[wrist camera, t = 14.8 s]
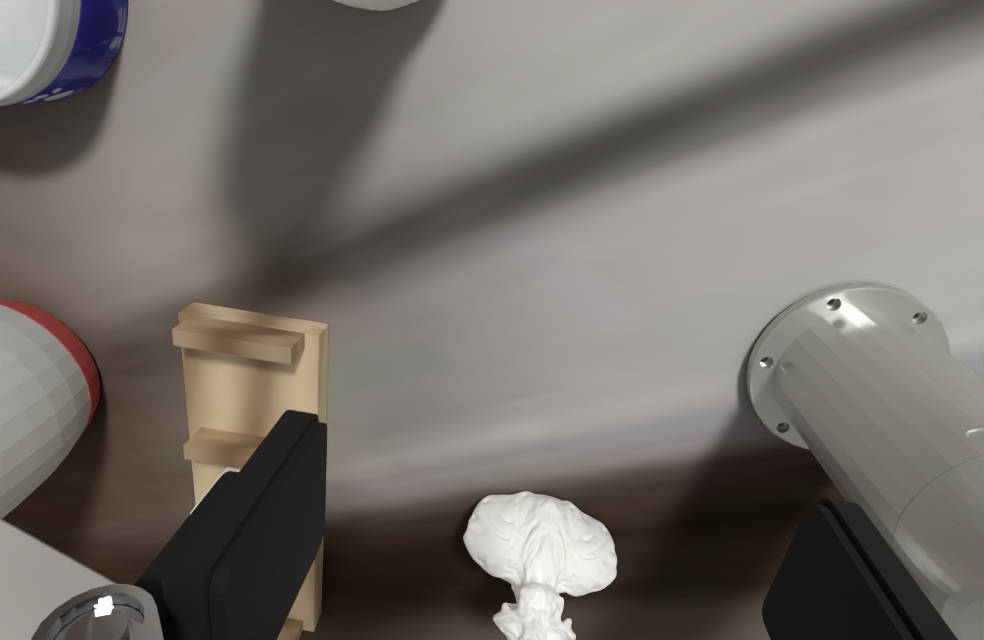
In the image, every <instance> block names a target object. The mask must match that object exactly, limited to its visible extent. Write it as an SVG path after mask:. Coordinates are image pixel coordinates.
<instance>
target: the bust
mask: <svg viewBox="0 0 984 640" xmlns="http://www.w3.org/2000/svg"><path fill="white" fill-rule="evenodd" d="M463 540H464V543H465V545H466V548H467V550H468V552H469V554H470V555H471V557H472V558H473V559H474V560H475V561H476V562H477V563H478V564H479V565H480V566H481V567H482V568H483V569H484V570H485V571H486V572H487V573H489V574H490V575H492V576H494V577H498V578H502V579H503V580H505V581H507V582H509V583H510V584H512V586H511V588H512V590H513V592H514V593H515V597H516V601H517V603H516V604H510V603H503V604H502V609H501V611H500V612H499V613H497V614H495V615H494V616H493V620H494V622H495V624H496V625H497V626H498V627H499V629H500V630H501V631H502V632H503V633H504V634H505V635H506V637H507V639H508V640H575V639H576V635H575V633H574V632H573V631H572V629H571V624H572V621H571V619H569V618H568V619H566V620H565V621H563V622H562V621H561V614H562V611H563V606H564V599H563V598H562V597H561V596H559V593H564V592H566V593H568V594H570V595H572V596H581V595H585V594H587V593H590V592H595V591H599V590H602V589H604V588H605V587H607V586H608V585H609V584H610V583H611V582H612V581H613V580H614V579H615V577H616V575H617V570H616V565H617V557H616V554H615V550H614V542H613V539H612V537H611V535H610V534H609V532H608V530H607V529H606V527H605V526H604V525H603V524H602V523H601V522H599V521H597V520H596V519H594V518H592V517H590V516H588V515H586V514H584V513H582V512H581V511H580V510H579V509H578V508H577V507H576V506H575V505H573V504H572V503H571V502H569V501H562V500H559V499H557V498H555V497H551V496H547V495H542V494H533V493H531V492H529V491H523V492H519V493H516V494H512V495H489V496H486V497H485V498H483V499H482V500H481V501H480V502H479V503H478V505H477V506H476V508H475V510H474V512H473V514H472V516H471V518H470V519H469V521H468V527H467V530H466V532H465V534H464V536H463Z"/></svg>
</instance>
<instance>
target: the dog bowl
mask: <svg viewBox="0 0 984 640" xmlns="http://www.w3.org/2000/svg"><path fill="white" fill-rule="evenodd" d="M127 16H128V0H0V106H10V105H20V104H30V103H38V102H47V101H53V100H59V99H65V98H68V97H71V96H73V95H76V94H78V93H80V92H82V91H84V90H86V89H88V88H89V87H91V86H92V85H93V84H95V83H96V82H97V81H98V80H99V79H100V78H101V77H102V76H103V75H104V74H105V73H106V71H107V70H108V69H109V67H110V66H111V65H112V63H113V61H114V59H115V57H116V56H117V53H118V51H119V49H120V46H121V43H122V40H123V37H124V33H125V28H126V23H127Z"/></svg>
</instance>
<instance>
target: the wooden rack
mask: <svg viewBox="0 0 984 640" xmlns="http://www.w3.org/2000/svg"><path fill="white" fill-rule="evenodd" d="M178 316H179V325H177V326H176V327H174V328H173V329H172V335H173V345H174V346H180V347H181V349H182V360H183V371H184V382H185V393H186V404H187V414H188V425H189V436H190V439H189V440H188V441H187V442H186V443H185V444H184V445H183V448H184V459H187V460H192V469H193V480H194V491H195V502H196V505H197V504H198V502H199V501H200V500H201V499H202V497H203V496H204V495H205V494H206V492H207V491H208V490H209V489H210V487H211V486H212V485H213V484H214V482H215V481H216V480H217V479H218V477H219V476H220V475H221V474H222V472H223V471H224V470H225V469H226V467H227V466H229V467H235V468H241V469H242V467H243V466H244V465H245V464H246V462H247V461H248V460H249V458H250V457H251V456H252V454H253V453H254V452H255V450H256V449H257V448H258V446H259V445H260V444H261V442H262V441H263V440H264V438H265V437H266V436H267V435H268V433H269V432H270V431H271V429H272V428H273V427H274V425H275V424H276V423H277V421H278V420H279V419H280V417H281V416H282V415H283V413H284V412H285V411H286V410H295V411H301V412H308V413H314V414H317V415H318V418H319V422H322V423H326V414H327V374H328V334H329V324H325V323H319V322H313V321H307V320H301V319H294V318H288V317H282V316H276V315H270V314H263V313H257V312H251V311H245V310H239V309H233V308H226V307H220V306H214V305H208V304H202V303H195V302H194V303H192V304H191V305H189V306H188V307H186V308H185V309H183V310H182V311H180V312H179V313H178ZM322 572H323V540H322V543H321V546H320V548H319V551H318V553H317V555H316V557H315V559H314V561H313V563H312V566H311V568H310V570H309V572H308V574H307V576H306V578H305V580H304V583H303V585H302V587H301V589H300V591H299V593H298V595H297V598H296V600H295V602H294V604H293V606H292V608H291V610H290V612H289V615H288V617H287V619H286V621H285V623H284V625H283V627H282V630H281V632H280V634H279V636H278V638H277V640H299V638H300V635H301V633H302V631H303V630H306V631H312V632H314V630H315V627H316V625H317V622H318V620H319V618H320V615H321V612H322Z"/></svg>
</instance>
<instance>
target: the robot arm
mask: <svg viewBox="0 0 984 640" xmlns="http://www.w3.org/2000/svg"><path fill="white" fill-rule="evenodd" d="M829 300H830V302H828V301H829ZM763 358H764V359H763ZM746 380H747V391H748V395H749V399H750V402H751V404H752V406H753V408H754V410H755V411H756V413H757V415H758V416H759V418H760V419H761V421H762V422H763V423H764V425H765V426H766V427H767V428H768V429H769V430H770V431H771V432H772V433H773V434H774V435H776V436H777V437H779V438H781V439H782V440H784V441H786V442H788V443H789V444H792V445H795V446H798V447H801V448H804V449H808V450H811V452H812V453H813V455H814V456H815V458H816V459H817V460H818V462H819V463H820V465H821V466H822V467H823V469H824V470H825V472H826V473H827V475H828V476H829V477H830V479H831V480H832V482H833V483H834V484H835V486H836V487H837V489H838V490H839V492H840V493H841V494H842V496H843V497H844V499H845V500H846V501H842V500H836V499H830V498H821V499H820V500H819V501H818V502H817V503H816V504H811V505H809V506H808V508H807V510H806V512H805V514H804V516H803V518H802V520H801V522H800V525H799V527H798V529H797V531H796V533H795V535H794V538H793V540H792V542H791V544H790V546H789V548H788V550H787V553H786V555H785V557H784V559H783V561H782V563H781V566H780V568H779V570H778V572H777V574H776V576H775V578H774V581H773V583H772V585H771V587H770V589H769V591H768V593H767V596H766V598H765V600H764V603H763V608H762V615H763V621H764V624H765V627H766V629H767V632H768V634H769V637H770V639H771V640H958V639H959V640H984V377H982V376H981V375H980V374H978V373H977V372H975V371H974V370H972V369H971V368H969V367H968V366H967V365H965V364H964V363H962V362H961V361H959V360H958V359H957V358H955V357H954V356H952V355H951V354H950V350H949V342H948V337H947V335H946V332H945V330H944V327H943V325H942V323H941V322H940V321H939V319H938V318H937V316H936V315H935V314H934V312H933V311H932V310H930V309H929V308H928V307H927V306H925V305H924V304H923V303H922V302H920V301H919V300H917V299H916V298H914V297H912V296H910V295H909V294H907V293H905V292H903V291H900V290H897V289H895V288H892V287H889V286H884V285H877V284H871V283H859V284H846V285H840V286H835V287H830V288H827V289H824V290H821V291H819V292H816V293H813V294H811V295H809V296H807V297H805V298H803V299H801V300H799V301H797V302H796V303H794V304H792V305H791V306H790V307H788V308H787V309H786V310H785V311H783V312H782V313H781V314H779V315H778V316H777V317H776V318H775V319H774V320H773V321H772V322H771V323H770V324H769V325H768V327H767V328H766V329H765V330H764V332H763V333H762V335H761V336H760V338H759V339H758V341H757V342H756V344H755V346H754V349H753V351H752V353H751V356H750V358H749V363H748V368H747V373H746ZM326 459H327V424H326V423H322V422H319V418H318V415H317V414H314V413H308V412H301V411H295V410H286V411H285V412H284V413H283V415H282V416H281V417H280V419H279V420H278V421H277V423H276V424H275V425H274V427H273V428H272V429H271V431H270V432H269V433H268V435H267V436H266V437H265V438H264V440H263V441H262V442H261V444H260V445H259V446H258V448H257V449H256V450H255V452H254V453H253V454H252V456H251V457H250V458H249V460H248V461H247V462H246V464H245V465H244V466H243V467H242V469H241V470H240V471H239V472H234V471H228V472H226V473H224V474H223V475H222V476H221V477H220V478H219V479H218V480H217V482H216V483H215V484H214V485H213V487H212V488H211V489H210V490H209V492H208V493H207V494H206V495H205V497H204V498H203V499H202V500H201V502H200V503H199V504H198V505H197V507H196V508H195V509H194V510H193V512H192V513H191V514H190V515H189V517H188V518H187V519H186V520H185V522H184V523H183V524H182V526H181V527H180V528H179V529H178V531H177V532H176V533H175V534H174V536H173V537H172V538H171V539H170V541H169V542H168V543H167V544H166V546H165V547H164V548H163V549H162V551H161V552H160V553H159V554H158V556H157V557H156V558H155V559H154V561H153V562H152V563H151V564H150V566H149V567H148V568H147V570H146V571H145V572H144V573H143V575H142V576H141V577H140V578H139V580H138V581H137V582H136V583H135V585H134V586H132V585H128V584H115V585H106V586H102V587H98V588H94V589H90V590H88V591H86V592H84V593H81V594H79V595H77V596H75V597H72V598H71V599H69V600H68V601H66V602H65V603H63V604H62V605H60V606H59V607H57V608H56V609H55V610H54V611H53V612H52V613H51V614H50V615H49V616H48V617H47V618H46V619H44V620H43V621H42V622H41V624H40V625H39V627H38V629H37V630H36V632H35V633H34V635H33V637H32V639H31V640H277V638H278V636H279V634H280V632H281V630H282V627H283V625H284V623H285V621H286V619H287V617H288V615H289V612H290V610H291V608H292V606H293V604H294V602H295V600H296V598H297V595H298V593H299V591H300V589H301V587H302V585H303V583H304V580H305V578H306V576H307V574H308V572H309V570H310V568H311V566H312V563H313V561H314V559H315V557H316V555H317V553H318V551H319V548H320V546H321V543H322V540H323V536H324V529H325V497H326Z"/></svg>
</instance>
